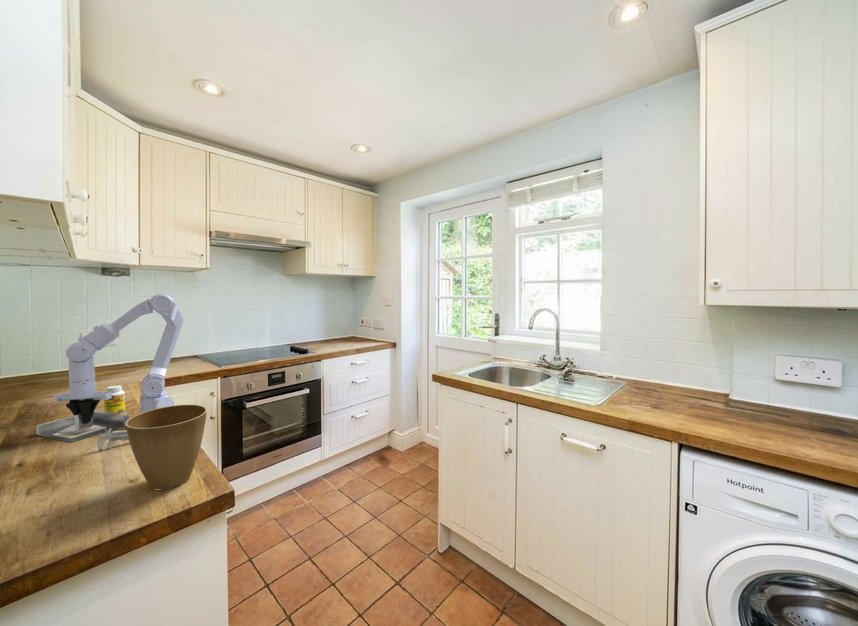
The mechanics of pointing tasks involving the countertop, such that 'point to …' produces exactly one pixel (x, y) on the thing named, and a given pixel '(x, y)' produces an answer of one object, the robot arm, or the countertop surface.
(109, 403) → the supplement bottle
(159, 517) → the countertop surface
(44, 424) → the arena
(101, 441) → the caliper
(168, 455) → the plant pot
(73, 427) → the bracket
